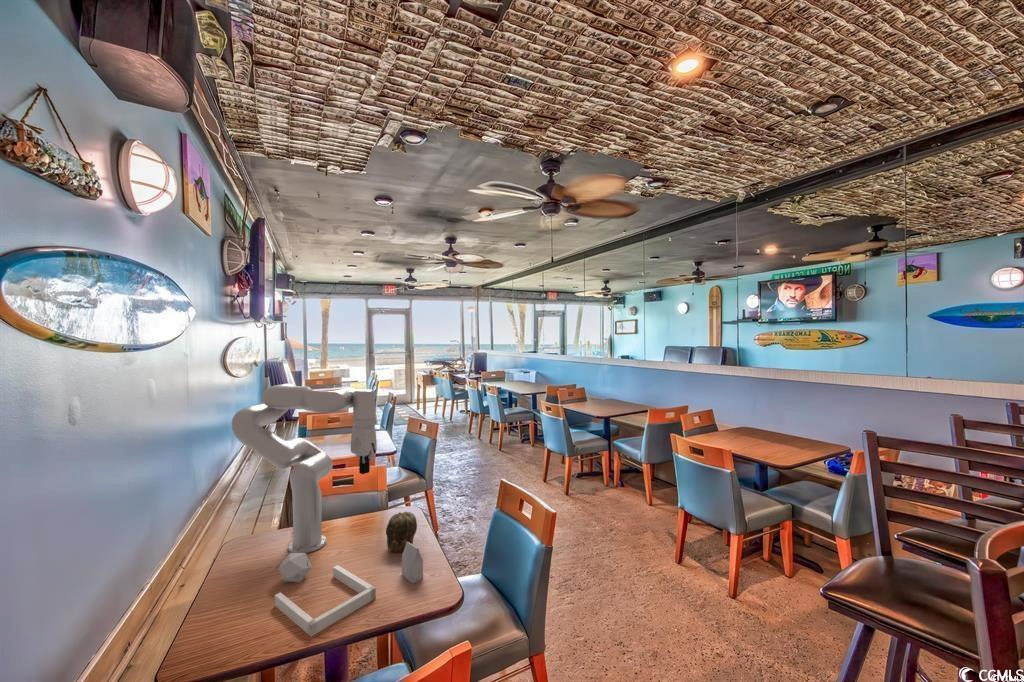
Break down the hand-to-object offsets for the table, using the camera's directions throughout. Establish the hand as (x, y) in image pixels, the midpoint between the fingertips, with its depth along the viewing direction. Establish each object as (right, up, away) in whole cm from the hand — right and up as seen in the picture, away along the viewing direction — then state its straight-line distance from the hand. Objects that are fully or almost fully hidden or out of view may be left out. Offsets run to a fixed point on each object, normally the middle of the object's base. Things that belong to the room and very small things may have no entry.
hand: (364, 472), depth 147 cm
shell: (+14, -27, 0) cm, 31 cm away
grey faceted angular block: (+22, -27, -19) cm, 40 cm away
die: (-15, -27, -20) cm, 37 cm away
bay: (0, -27, -31) cm, 41 cm away
